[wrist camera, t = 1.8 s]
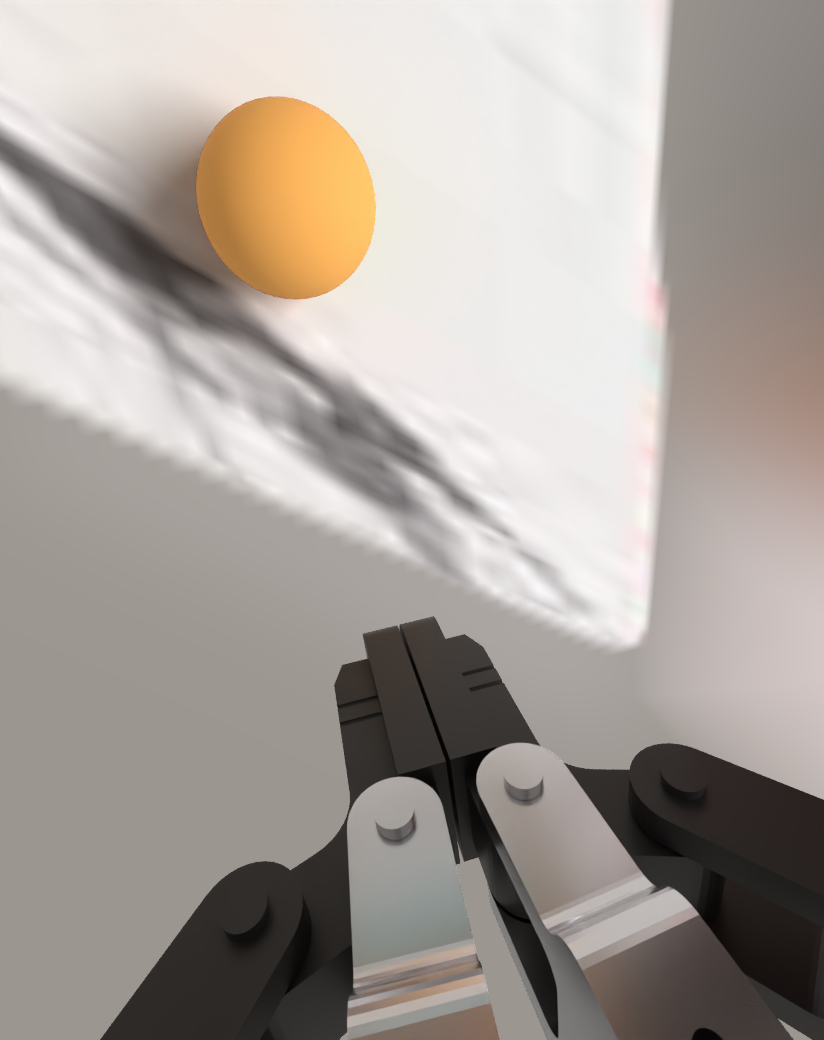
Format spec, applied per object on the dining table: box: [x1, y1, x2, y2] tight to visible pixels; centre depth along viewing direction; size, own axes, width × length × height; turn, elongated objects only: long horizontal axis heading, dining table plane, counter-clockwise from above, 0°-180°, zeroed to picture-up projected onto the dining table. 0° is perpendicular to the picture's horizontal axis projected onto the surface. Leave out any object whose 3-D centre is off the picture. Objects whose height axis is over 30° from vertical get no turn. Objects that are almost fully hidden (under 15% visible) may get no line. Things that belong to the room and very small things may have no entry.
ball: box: [196, 97, 376, 299], centre depth 17 cm, size 6×6×6 cm
